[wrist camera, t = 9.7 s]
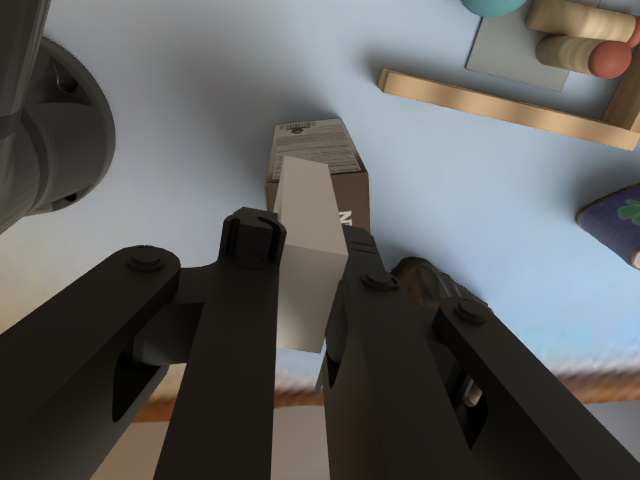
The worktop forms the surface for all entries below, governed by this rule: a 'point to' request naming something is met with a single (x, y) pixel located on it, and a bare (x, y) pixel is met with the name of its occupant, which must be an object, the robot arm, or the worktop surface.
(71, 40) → the worktop surface
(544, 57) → the pin
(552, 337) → the worktop surface
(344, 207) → the coffee box
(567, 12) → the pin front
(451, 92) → the lane
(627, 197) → the flask
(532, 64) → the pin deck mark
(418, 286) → the carved bird figurine
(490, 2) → the ball
